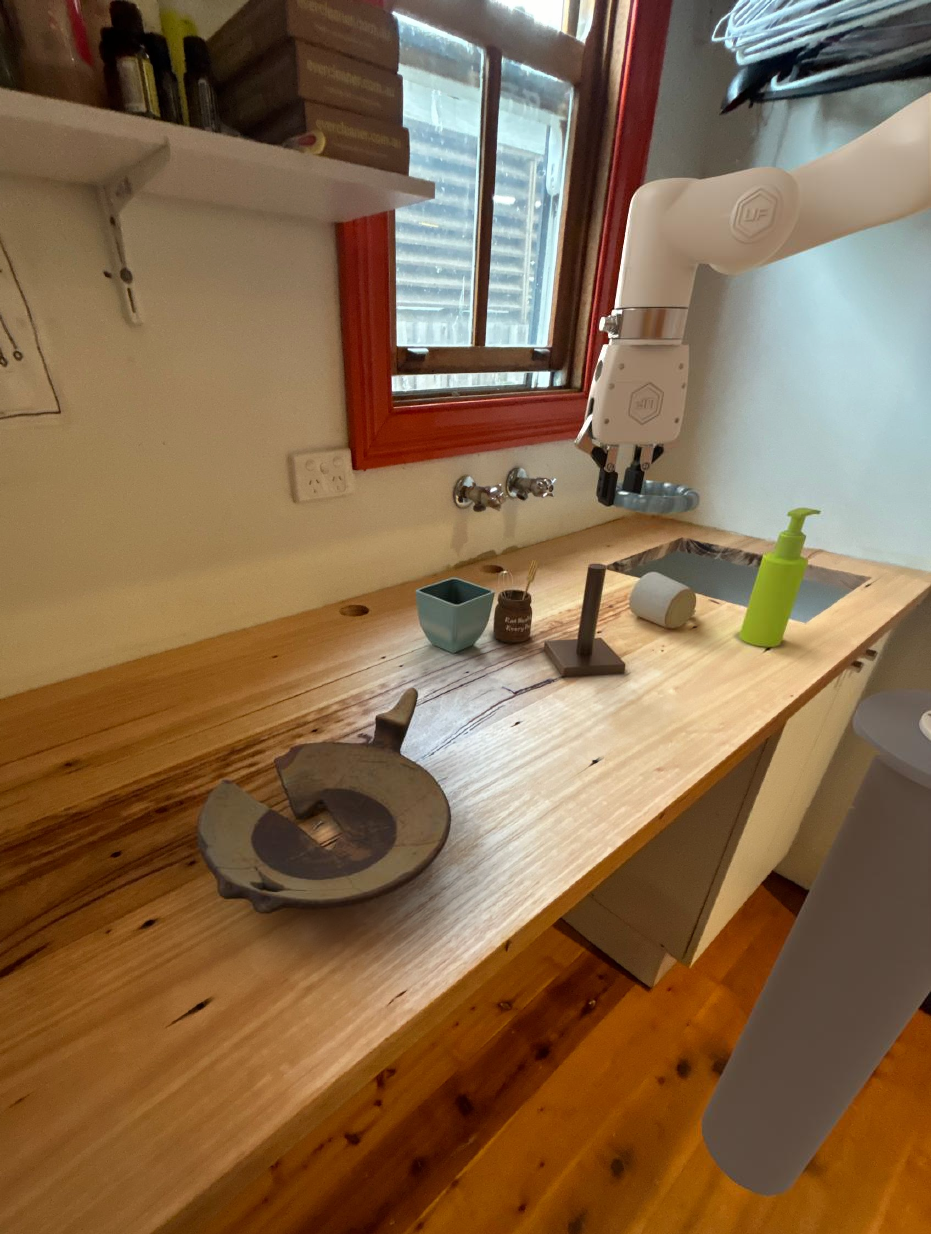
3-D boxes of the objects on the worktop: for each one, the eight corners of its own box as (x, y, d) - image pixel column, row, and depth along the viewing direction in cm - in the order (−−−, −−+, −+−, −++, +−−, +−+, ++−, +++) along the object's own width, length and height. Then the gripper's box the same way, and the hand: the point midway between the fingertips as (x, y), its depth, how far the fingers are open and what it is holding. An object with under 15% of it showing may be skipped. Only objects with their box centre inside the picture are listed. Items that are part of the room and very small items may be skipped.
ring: (669, 494, 81) (673, 478, 80) (715, 514, 72) (719, 497, 71) (590, 495, 80) (593, 479, 79) (626, 516, 71) (629, 499, 70)
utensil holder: (485, 632, 99) (490, 560, 93) (518, 625, 101) (525, 555, 95) (504, 646, 95) (511, 572, 89) (538, 639, 97) (547, 566, 91)
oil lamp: (155, 849, 57) (136, 785, 53) (389, 727, 75) (387, 672, 71) (292, 1010, 44) (280, 940, 40) (539, 814, 61) (547, 752, 57)
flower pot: (492, 645, 95) (497, 590, 91) (454, 662, 90) (456, 606, 86) (451, 628, 101) (453, 576, 96) (413, 644, 96) (413, 590, 91)
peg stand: (599, 646, 95) (615, 554, 87) (624, 673, 87) (643, 575, 79) (543, 649, 94) (554, 557, 86) (563, 677, 86) (577, 578, 79)
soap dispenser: (792, 639, 96) (837, 510, 86) (766, 650, 93) (810, 517, 83) (756, 627, 100) (795, 502, 90) (731, 636, 97) (768, 509, 87)
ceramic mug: (664, 635, 98) (675, 589, 94) (624, 618, 104) (633, 574, 100) (705, 622, 102) (718, 578, 98) (665, 606, 108) (675, 564, 105)
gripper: (588, 329, 62) (564, 513, 71) (736, 329, 63) (693, 509, 73) (563, 329, 68) (544, 498, 78) (698, 330, 70) (663, 495, 79)
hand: (616, 502), depth 75 cm, fingers closed on ring, 2 cm apart
